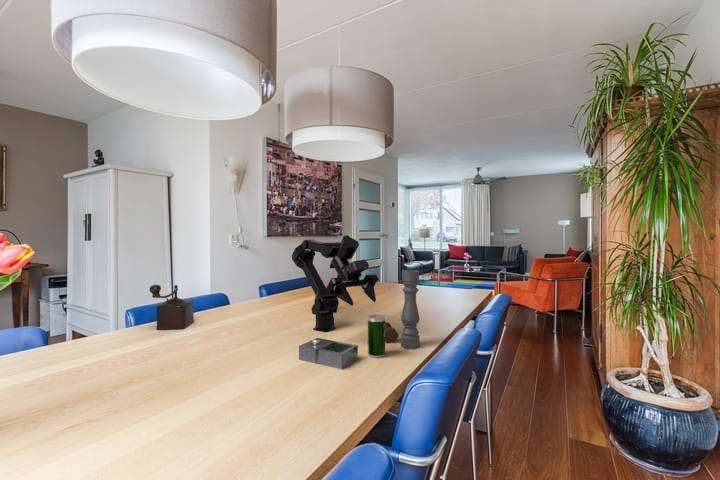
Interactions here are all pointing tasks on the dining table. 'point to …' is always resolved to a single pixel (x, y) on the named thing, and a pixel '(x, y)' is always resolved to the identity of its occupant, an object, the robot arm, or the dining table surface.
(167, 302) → the manual coffee grinder
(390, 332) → the bolt
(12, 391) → the dining table surface
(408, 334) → the turned furniture leg
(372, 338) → the beer can
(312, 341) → the jig
